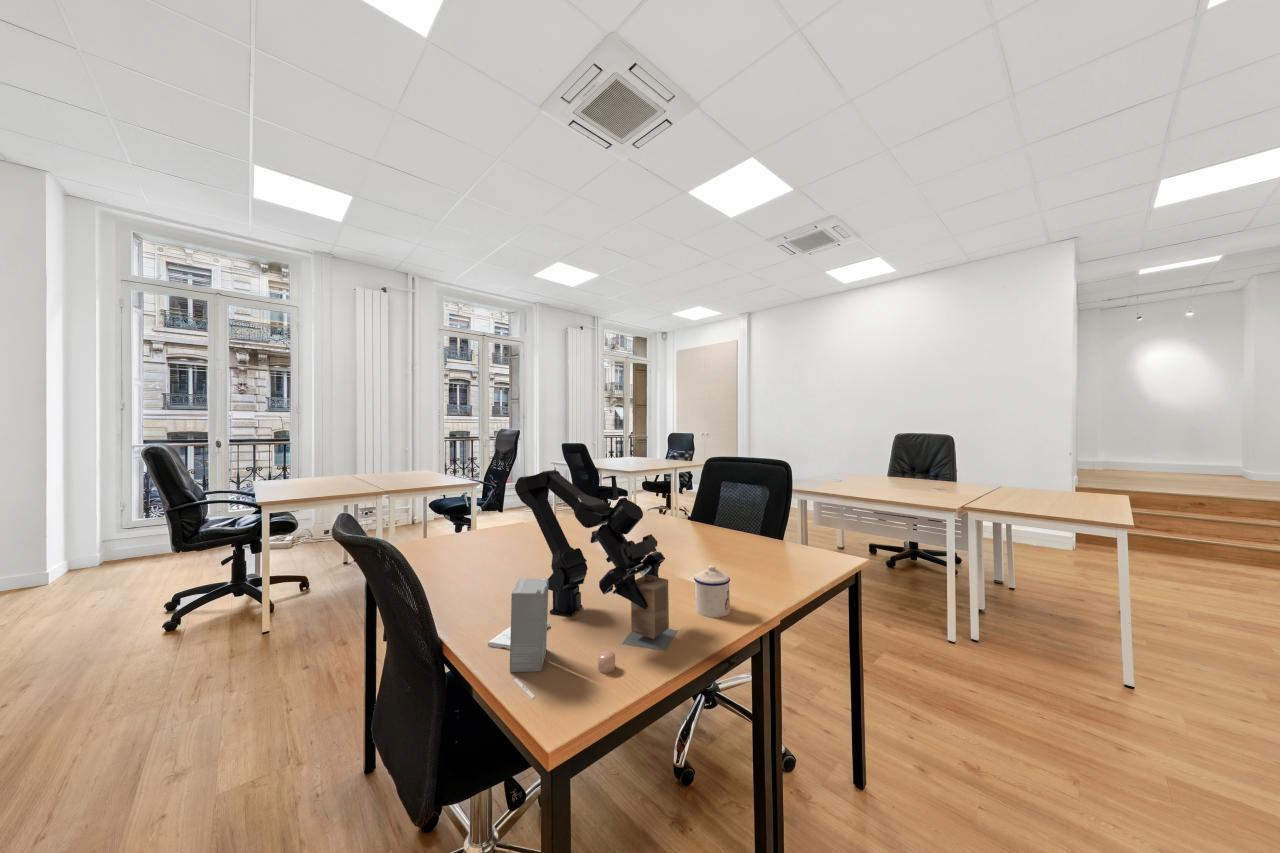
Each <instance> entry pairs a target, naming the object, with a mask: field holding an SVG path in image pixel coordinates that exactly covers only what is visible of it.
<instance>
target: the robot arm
mask: <svg viewBox="0 0 1280 853" xmlns="http://www.w3.org/2000/svg"><path fill="white" fill-rule="evenodd" d="M514 490H515V494H516V495H517V496H518V498H519V499H520V501H521V503H523V504H524V505H525V506H527V507H528V508H530V510H531V511H532V514H533V515H534V518H535V520H536V522H537V524H538V526H539V529H540V531H541V534H542V535H543V538H544V540H545V543H547V546H548V549H549V551H550V553H551V556H552V558H551V566H550V568H551V571H552V574H551V575H550V576H549V577H548V579H549V584H548V591H552V609H550V610H549V614H554V615H559V616H560V615H561V616H568V617H572V616H573V615H575V614H576V613H577V612H578V611H579V610H581V609H582V608H583V604H582V592H581V591H580V585H583V584H584V583H585V579H586V576H587V572H588V569H589V568H588V564H587V559H586V558H585V556H584V554H583V551H582V549H581V547H577V548H573V547H572V546H571V545H570V542H569V541H568V540H567V537H566V535H565V533H564V531H563V529H562V527H561V525H560V523H559V520H558V519H557V516H556V514H555V512H554V510H553V507H552V505H551V504H550V502H549V496H550V495H549V494H550V492H552V493H553V494H554V495H555V496H557V498H558V499H560V500H561V501H563V502H564V503H565V504H566V505H567V506H569V507H570V508H571V509H572V510H573V513H574V517H575V519H576V520H577V521H578V523H580V525H581V526H582V527H583V528H585V529H590V528H594V527H598V526H599V528H598V529H597V530H593V531H591V537H590V543H591V544H594V543H599V544H600V546H601V547H602V549H603V551H604V552H605V554H606V556H607V557H606V559H605V560H606V562H607V563H608V564H609V563H611V562H612V564H613V566H614V568H612V569H609V570H608V571H607V573H605V575H603V577H602V578H601V579H600V580H599V582H598V585H599V587H598V588H599V590H600V591H601V593H602V595H606V594H608V593H610V592H612V594H613V595H615V594H616V595H619V596H621V597H623V598H624V599H626V600H628V601H629V602H630V603H631V602H633V603H635V604H636V605H638V606H640V607H641V608H643V609H646V608H648V605H647V603H646V601H645V599H644V597H643V595H642V594H641V592H640V590H639V589H638V587H637V585H636V583H635V580H636V575H637V574H639V573H640V575H641V577H643V576H645V575H654V576H655V577H659V578H660V575H659V569H660V567H661V564H662V563H663V562H664V561H665V560H666V558H665V556H664V554H662V552H661V551H657V547H658V540H657V538H655V537H654V535H653V534H648V535H645V536H642V540H641V541H639V542H636V543H635V541H633V540H629V541H628V540H627V538H626V537H625V535H628V534H630V533H631V532H632V530H633V529H634V528H635V526H637V525H638V523H640V521H641V520H642V519H643V517H644V513H643V512H644V511H643V510H642V508H641V507H640V505H637V503H635V502H633V501H630V500H628V498H627V497H626V496H625V497H620V498H619V499H618V500H617V502H616V504H615V505H614V507H612V506H610V505H609V504H608V503H607V502H605V501H603V500H602V499H600V498H598V497H595V496H590V495H587V494H586V493H584V491H582V490H581V489H580V488H578V487H577V486H575V484H573V483H572V482H570V481H569V480H568V479H567V478H565V477H564V476H563V475H561V472H560V471H558V470H556V469H552V470H551V469H550V470H543V471H542V472H539V473H536V474H533V475H527V476H526V475H525V476H520V477H518V478H517V480H516V482H515V484H514ZM614 588H615V589H614Z"/></svg>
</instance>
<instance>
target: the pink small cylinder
mask: <svg viewBox="0 0 1280 853" xmlns="http://www.w3.org/2000/svg"><path fill="white" fill-rule="evenodd" d="M615 670H616V653H615V652H614V651H611V650H604V651H600V652H599V653H598V654H597V671H598V672H599V673H601V674H610V673H613V672H615Z"/></svg>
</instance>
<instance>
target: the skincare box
mask: <svg viewBox="0 0 1280 853" xmlns="http://www.w3.org/2000/svg"><path fill="white" fill-rule="evenodd" d="M548 584H549V577H548V578H547V577H546V578H536V577H535V578H533V577H532V578H531V577H529V578H528V577H527V578H525V577H524V578H519V579H518V581H517V582H516V584H515V586H514V588H513V590H511V593H510V594H511V597H510V598H511V606H510V607H511V609H510V612H511V614H510V627H511V639H510V650H509V655H510V656H509V673H525V672H526V673H527V672H528V673H529V672H530V673H531V672H541V671H543V667H544V662H545V657H546V652H547V640H548V639H547V638H548V637H547V636H548V629H547V622H548V611H549V610H548V609H549V608H548V607H549V590H548Z"/></svg>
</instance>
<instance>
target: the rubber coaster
mask: <svg viewBox="0 0 1280 853" xmlns="http://www.w3.org/2000/svg"><path fill="white" fill-rule="evenodd" d="M678 631H679V629H671V628H669V629H668V630H666V631H665V632H663V633H662V634H660V635H659V636H657V637H656V638H654V639H652V638H649V637H646V636H643V635H641V634H638V633H635V632H632V631H630V633H629V634H628V635H627V636H626V638H625V639H624V640H623V641H622V643H621V645H626V646H632V647H636V648H637V647H638V648H644V649H650V650H657V651H663V652H667V649H668V648H669V647H670V645H671V643H672V641H673V639H674V638H675V636H676V635H677V633H678Z"/></svg>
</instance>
